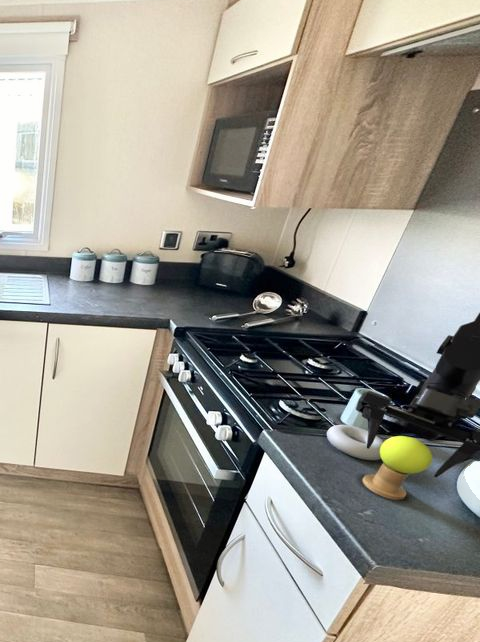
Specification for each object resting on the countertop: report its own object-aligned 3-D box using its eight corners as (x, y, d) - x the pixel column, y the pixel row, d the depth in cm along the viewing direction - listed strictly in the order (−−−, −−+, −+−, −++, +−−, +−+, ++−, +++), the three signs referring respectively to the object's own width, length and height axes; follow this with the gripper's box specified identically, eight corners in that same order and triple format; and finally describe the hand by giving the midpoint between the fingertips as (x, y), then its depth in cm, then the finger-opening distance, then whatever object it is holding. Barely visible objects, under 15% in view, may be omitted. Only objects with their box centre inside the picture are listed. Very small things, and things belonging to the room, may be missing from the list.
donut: (395, 466, 84) (359, 435, 93) (404, 453, 83) (367, 423, 92) (344, 461, 85) (313, 431, 94) (352, 449, 84) (319, 419, 92)
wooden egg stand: (375, 474, 82) (387, 454, 80) (412, 496, 77) (426, 476, 74) (354, 480, 80) (366, 460, 78) (391, 503, 75) (405, 482, 73)
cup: (351, 414, 101) (366, 386, 97) (380, 429, 96) (397, 400, 92) (334, 418, 99) (349, 390, 96) (362, 433, 94) (379, 404, 90)
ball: (386, 453, 80) (403, 426, 77) (429, 477, 74) (449, 448, 71) (363, 459, 78) (380, 432, 75) (406, 484, 72) (425, 455, 69)
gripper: (385, 353, 77) (340, 420, 76) (544, 399, 63) (492, 481, 62) (376, 378, 84) (335, 439, 83) (516, 423, 71) (470, 497, 70)
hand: (400, 461), depth 75 cm, fingers open, 9 cm apart
